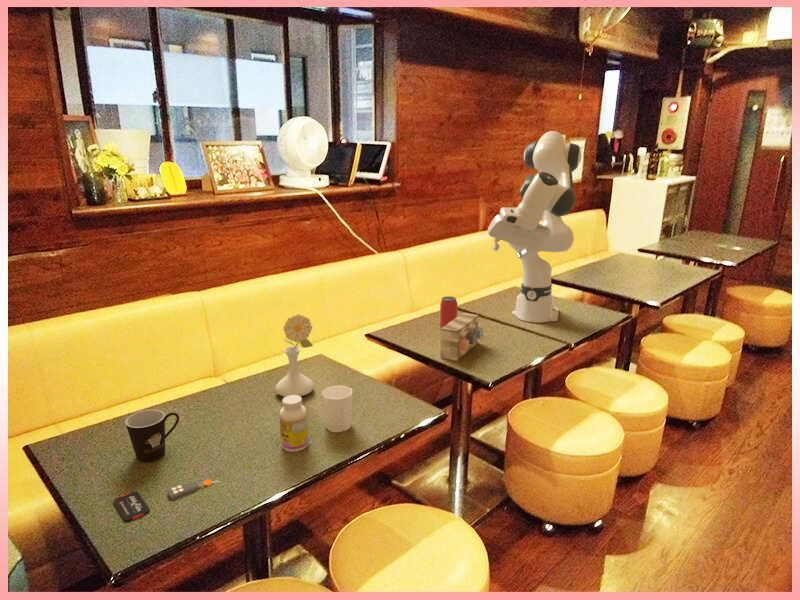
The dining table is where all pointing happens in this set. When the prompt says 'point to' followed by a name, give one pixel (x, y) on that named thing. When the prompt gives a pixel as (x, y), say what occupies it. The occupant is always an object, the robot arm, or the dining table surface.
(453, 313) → the beer can
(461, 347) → the terracotta button
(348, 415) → the white cup
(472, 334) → the charcoal button
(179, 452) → the dining table surface
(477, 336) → the slate-blue button
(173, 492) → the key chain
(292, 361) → the flower in vase
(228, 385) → the dining table surface
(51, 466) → the dining table surface
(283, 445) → the supplement bottle
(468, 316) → the block
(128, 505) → the black flat block
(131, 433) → the coffee mug
